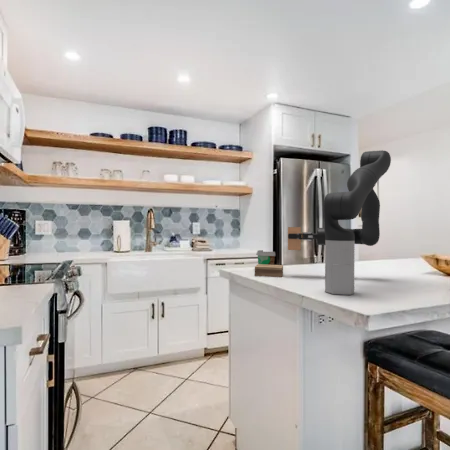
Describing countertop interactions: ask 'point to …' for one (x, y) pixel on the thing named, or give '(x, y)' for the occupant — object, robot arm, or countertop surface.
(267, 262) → the food container
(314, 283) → the countertop surface
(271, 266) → the walnut base block
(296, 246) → the orange brick
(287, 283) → the countertop surface
